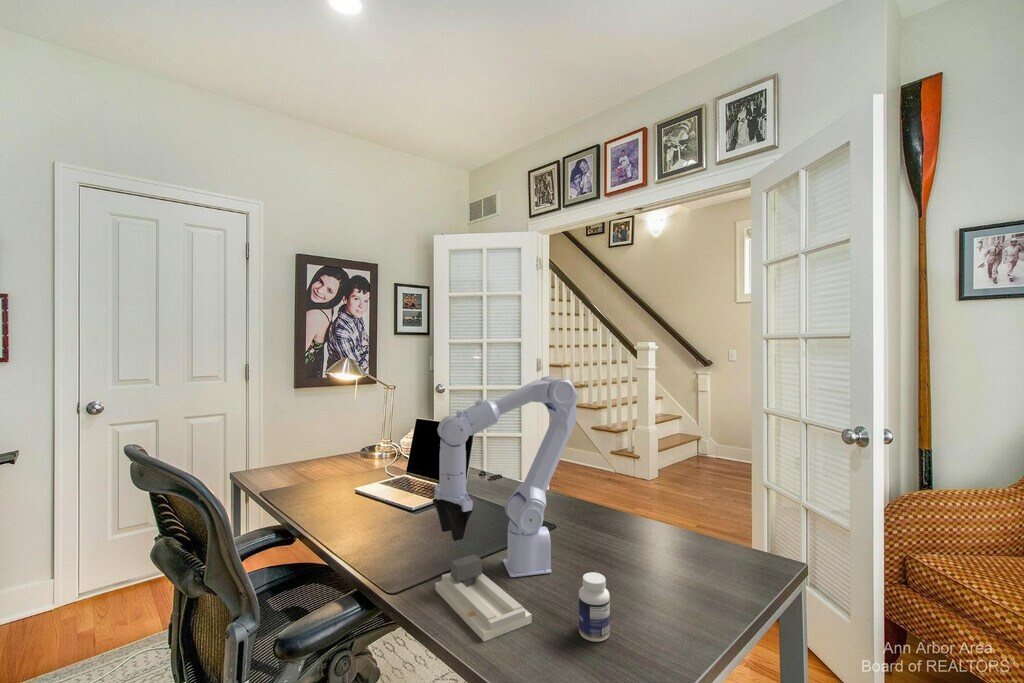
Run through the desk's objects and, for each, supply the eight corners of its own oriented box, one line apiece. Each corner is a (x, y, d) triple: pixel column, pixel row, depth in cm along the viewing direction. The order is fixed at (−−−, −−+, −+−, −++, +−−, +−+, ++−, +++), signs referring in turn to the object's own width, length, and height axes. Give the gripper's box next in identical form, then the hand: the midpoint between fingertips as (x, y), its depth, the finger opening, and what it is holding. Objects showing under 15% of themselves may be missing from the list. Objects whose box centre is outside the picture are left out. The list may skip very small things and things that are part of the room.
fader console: (435, 590, 96) (435, 575, 96) (478, 577, 102) (478, 563, 102) (483, 641, 80) (483, 623, 80) (531, 622, 85) (531, 606, 85)
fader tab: (450, 583, 95) (450, 560, 96) (474, 576, 99) (474, 554, 99) (457, 590, 93) (457, 566, 93) (481, 582, 96) (481, 559, 96)
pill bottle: (575, 624, 85) (575, 570, 85) (604, 623, 85) (604, 569, 85) (582, 643, 79) (582, 585, 79) (613, 642, 80) (613, 584, 80)
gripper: (422, 467, 105) (421, 527, 105) (450, 483, 93) (450, 551, 93) (450, 463, 109) (450, 521, 109) (481, 477, 97) (481, 543, 97)
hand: (452, 535), depth 101 cm, fingers open, 5 cm apart
